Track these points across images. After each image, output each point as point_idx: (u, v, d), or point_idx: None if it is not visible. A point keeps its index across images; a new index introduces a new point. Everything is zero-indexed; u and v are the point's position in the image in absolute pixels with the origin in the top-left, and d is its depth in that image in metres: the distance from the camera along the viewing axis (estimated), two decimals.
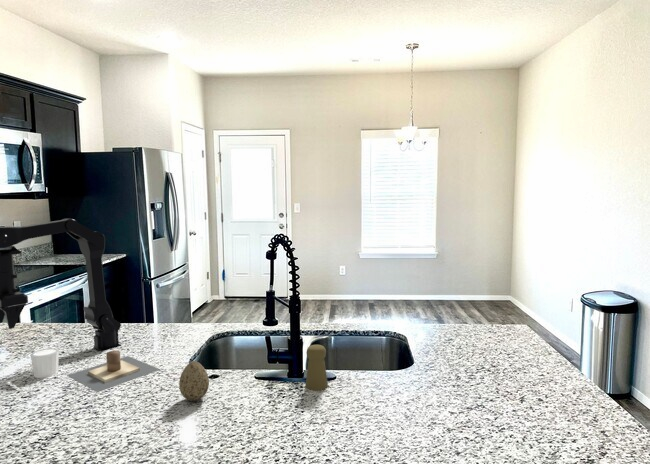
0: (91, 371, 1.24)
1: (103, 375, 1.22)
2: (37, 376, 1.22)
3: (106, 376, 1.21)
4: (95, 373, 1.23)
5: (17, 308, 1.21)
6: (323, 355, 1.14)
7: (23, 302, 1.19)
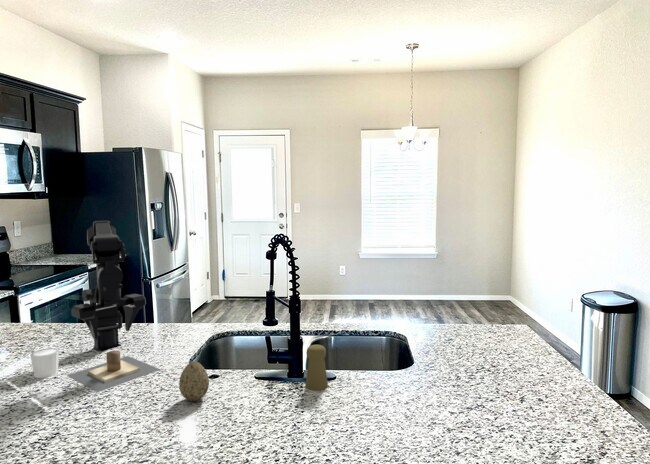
0: (91, 371, 1.24)
1: (103, 375, 1.22)
2: (37, 376, 1.22)
3: (106, 376, 1.21)
4: (95, 373, 1.23)
5: None
6: (323, 355, 1.14)
7: (78, 317, 1.15)
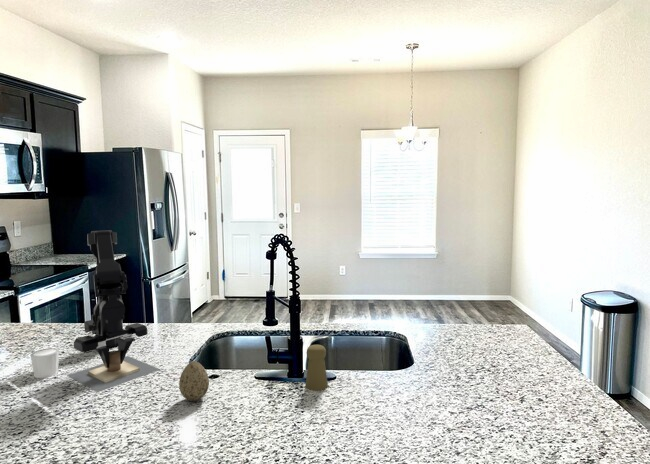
0: (91, 371, 1.24)
1: (103, 375, 1.22)
2: (37, 376, 1.22)
3: (106, 376, 1.21)
4: (95, 373, 1.23)
5: None
6: (323, 355, 1.14)
7: (81, 350, 1.16)
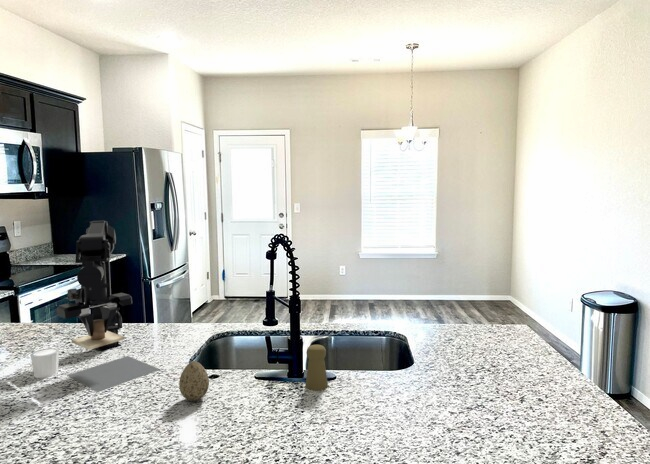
0: (75, 340, 1.23)
1: (87, 343, 1.21)
2: (37, 376, 1.22)
3: (90, 344, 1.20)
4: (79, 341, 1.22)
5: None
6: (323, 355, 1.14)
7: (64, 316, 1.15)
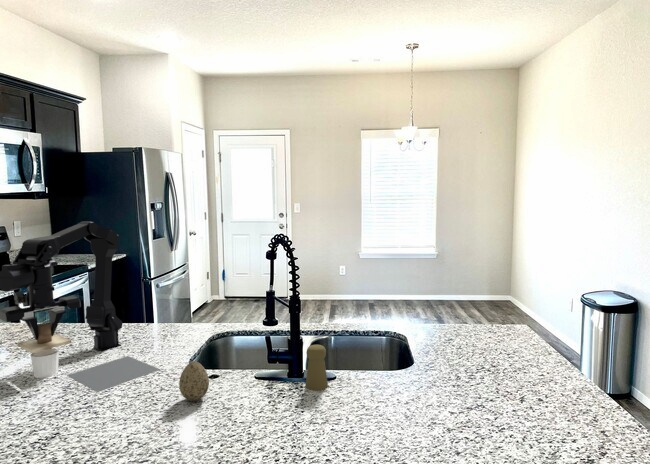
0: (21, 343, 1.23)
1: (31, 346, 1.20)
2: (37, 376, 1.22)
3: (34, 347, 1.19)
4: (24, 345, 1.22)
5: None
6: (323, 355, 1.14)
7: (5, 320, 1.15)
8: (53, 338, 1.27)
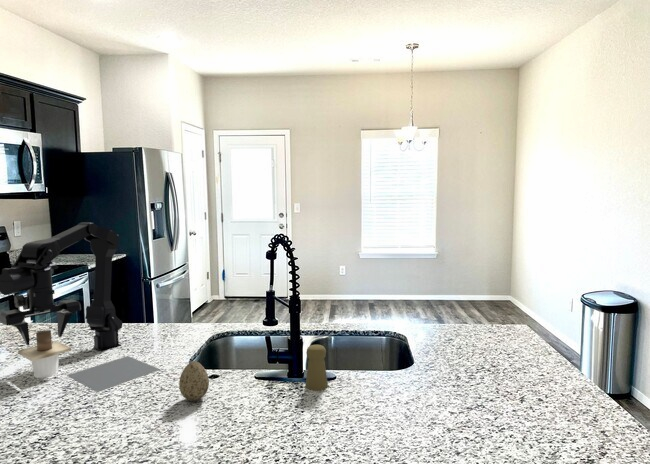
0: (21, 350, 1.23)
1: (31, 354, 1.21)
2: (37, 376, 1.22)
3: (34, 355, 1.20)
4: (24, 352, 1.22)
5: None
6: (323, 355, 1.14)
7: (5, 323, 1.15)
8: (53, 346, 1.27)
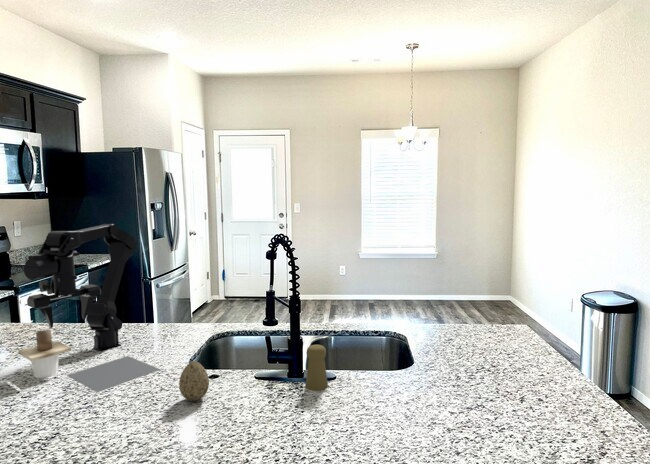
0: (21, 350, 1.23)
1: (31, 354, 1.21)
2: (37, 376, 1.22)
3: (33, 355, 1.20)
4: (24, 352, 1.22)
5: None
6: (323, 355, 1.14)
7: (33, 306, 1.24)
8: (53, 345, 1.27)
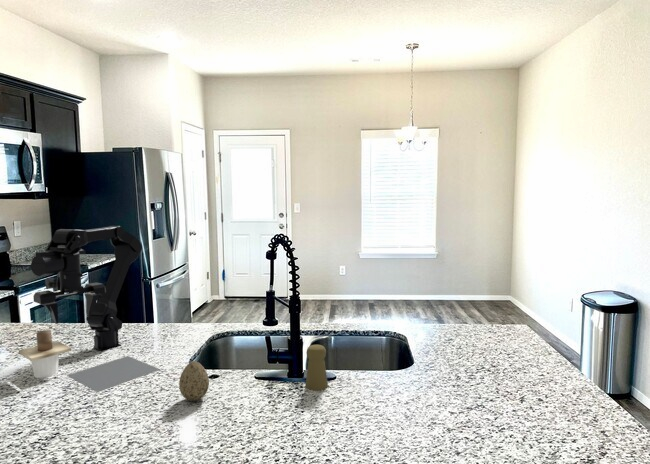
0: (21, 350, 1.24)
1: (31, 354, 1.21)
2: (37, 376, 1.22)
3: (34, 355, 1.20)
4: (24, 352, 1.22)
5: None
6: (323, 355, 1.14)
7: (39, 302, 1.26)
8: (54, 346, 1.27)
